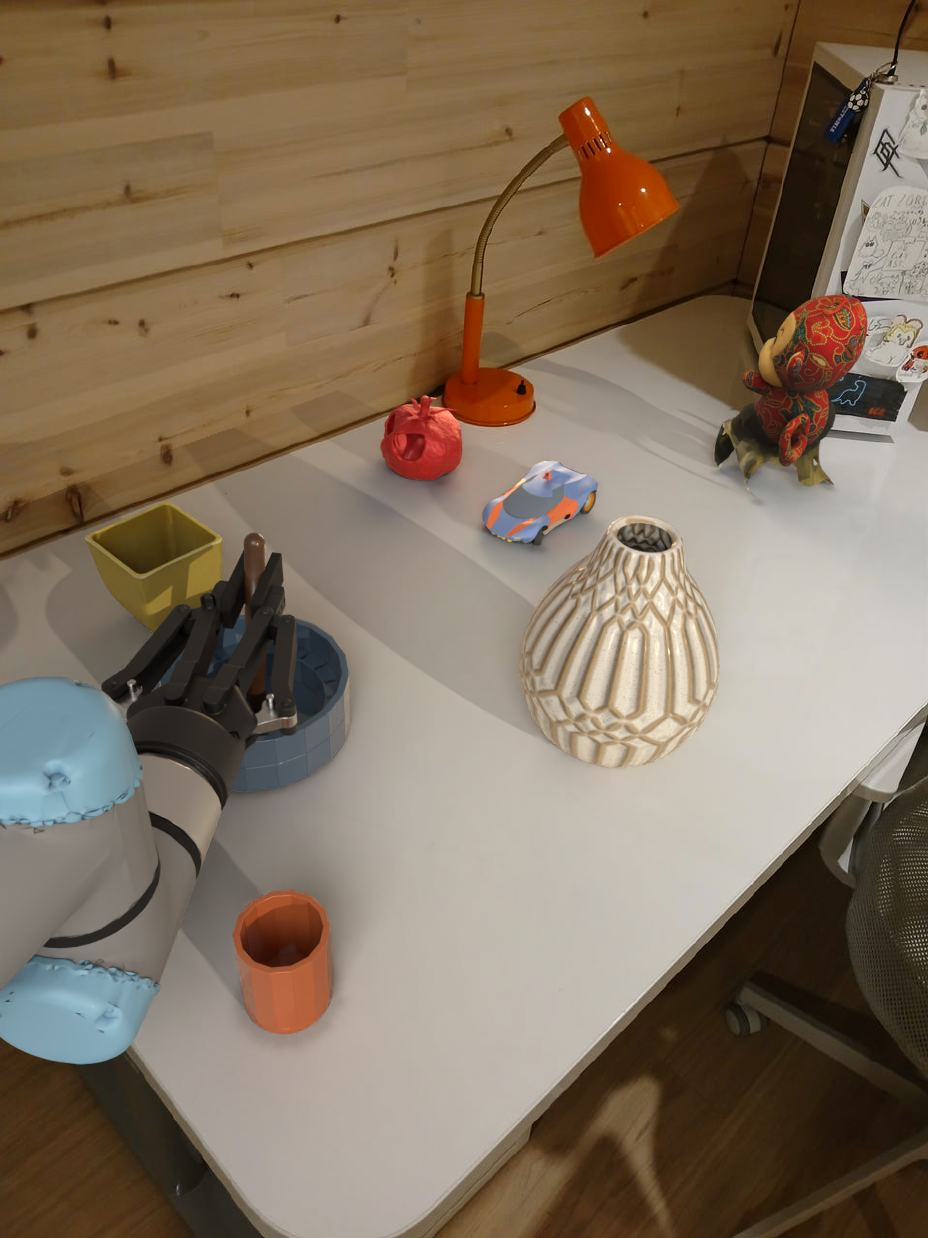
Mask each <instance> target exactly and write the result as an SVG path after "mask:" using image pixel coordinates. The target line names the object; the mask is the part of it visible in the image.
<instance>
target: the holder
mask: <svg viewBox="0 0 928 1238" xmlns="http://www.w3.org/2000/svg"><path fill="white" fill-rule="evenodd" d="M232 940H233V945H234V951H235V957H236V964H237V969H238V970H237V971H238V975H239V982H240V988H241V994H242V998H243V1003H244V1007H245V1010H246V1014H247V1015H248V1017H249V1018H250V1019H251V1020H252V1022H253V1023H254V1024H255V1025H257V1026H258V1027H259V1028H261V1029H262V1030H264V1031H267V1032H270V1033H273V1034H279V1035H286V1034H287V1035H288V1034H294V1033H298V1032H301V1031H304V1030H306V1029H308V1028H309V1027H311V1026H312V1025H314V1024H315V1023H316V1022H317V1021H319V1019H321V1018H322V1016H323V1015H324V1014H325V1013H326V1011H327V1009H328V1008H329V1005H330V1003H331V1000H332V995H333V986H334V977H333V975H334V974H333V959H332V941H331V925H330V921H329V918H328V916H327V911H326V909H325V907H323V906H322V905H321V904H320V903H319V902H318V901H317V900H316V899H315V897H313V896H312V895H309V894H306V893H303V892H300V891H297V890H294V889H288V890H287V889H285V890H275V891H274V890H273V891H270V892H268V893H266V894H263V895H262V896H259V897H258V898H256V899H253V900H252V901H251V902H250V903H249V904H248V905H247V906H245V908H244V909H243V910H242V911H241V912H240V913H239V914H238V916H237V919H236V923H235V925H234V929H233V932H232Z"/></svg>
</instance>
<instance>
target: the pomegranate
mask: <svg viewBox="0 0 928 1238" xmlns="http://www.w3.org/2000/svg"><path fill="white" fill-rule="evenodd" d="M436 399H437V397H431V396H430V397H429V396H427V395H425V394H424V395H422V396H421V397H420V399H419V401H420V402H419V403H420V404H419V403H418V402H417V400H416V399H415V398H406V400H407V401H411V403H412V404H403V405H400V406H394V407H393V411H391V413H390V414H389V415H388V417H387V419H386V420H385V422H384V433H383V439H382V440H381V441H380V445H379V448H380V451H381V455H382V457H383V459H384V462H385V463H386V465H387V466H388V467H389V468H390V469H391V470H392V471H394V472H395V473H397V474H398V475H400V476H401V477H404V478H406V479H409V480H418V481H435V480H437V479H438V478H440V477H441V476H442V475H446V474H449V473H451V472H453V471H454V470H456V468H458V466H459V465H460V464H461V460H462V457H463V436H462V429H461V426H460V425H461V424H460V423H459V422H458V420H457V419H456V418H455V417H454V416H453V413H451V412H456V411H459V408H457V409H453V408H449V407H448V408H444V407H441V406H440V407H439V406H431V405H432V403H433V400H436Z"/></svg>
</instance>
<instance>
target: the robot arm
mask: <svg viewBox="0 0 928 1238" xmlns="http://www.w3.org/2000/svg"><path fill="white" fill-rule="evenodd" d="M282 554H283V553H282V552H275V551H272V552H271V553H270V556H269V558H268V560H267V563H266V568H265V570H264V571H263V574H262V576H261V578H260V580H259V583H258V585H257V587H256V589H255V592H254V594H253V596H252V598H251V601H250V611H251V622H250V624H249V626H248V627H247V629H246V631H245V633H244V634H243V636H242V638H241V640H240V642H239V643H238V645H237V647H236V649H235V651H234V652H233V654H232V656H231V658H230V659H229V661H228V663H227V664H223V665H222V667H221V668H220V670H219V672H218V674H217V676H216V677H215V678H206V675H207V672H208V669H209V666H210V663H211V660H212V658H213V655H214V652H215V649H216V646H217V643H218V640H219V637H220V634H221V625H222V623H223V628H227V629H233V628H234V626H235V624H236V622H237V619H238V617H239V615H241V613H242V610H243V608H244V607H245V587H244V549H243V550H242V552H241V554H240V556H239V558H238V561H237V563H236V564H235V567H234V569H233V571H232V573H231V575H230V577H229V579H228V580H222V579H221V580H220V581H219V582H217V583H216V584H215V586H214V588H213V590H212V592H211V593H205V594H203V595H201V597H200V602H201V607H199V608H193V609H191V607H190V606H189V605H187V604H181V605H178V606H176V607H175V608H174V609H173V610H172V611H171V613H170V614H169V615H168V616H167V618H166V619H165V620H164V621H163V622H162V624H161V625H160V626H159V627H158V628H157V630H156V631H155V632H152V634H151V635H150V637H149V638H148V640H146V642H145V643H144V644H143V645H142V646H141V647H140V649H139V650H138V651H137V652H136V653H135V655H134V656H133V657H132V659H130V661H129V662H128V663H127V665H125V667H123V668H122V669H121V670H119V671H118V672H116V673H115V674H114V675H112V676H110V677H109V678H107V679H106V680H104V681H102V683H101V685H100V688H101V689H99V688H98V687H96V686H95V685H93V684H90V683H84V682H82V681H81V680H78V679H74V678H71V677H64V676H36V677H35V676H34V677H28V678H22V679H18V680H14V681H9V682H8V683H3V684H1V685H0V1038H1V1039H2V1040H4V1041H5V1042H6V1043H8V1044H9V1045H11V1046H13V1047H14V1048H16V1049H18V1050H20V1051H23V1052H25V1053H27V1054H29V1055H32V1056H34V1057H37V1058H41V1059H44V1060H47V1061H52V1062H56V1063H57V1062H58V1063H64V1064H65V1063H66V1064H75V1065H88V1064H90V1065H91V1064H98V1063H102V1062H106V1061H109V1060H111V1059H114V1058H117V1057H118V1056H119V1055H121V1054H122V1053H124V1052H126V1050H127V1049H129V1047H131V1045H132V1044H133V1043H134V1041H135V1039H136V1037H137V1035H138V1033H139V1031H140V1029H141V1026H142V1025H143V1022H144V1021H145V1018H146V1016H147V1013H148V1011H149V1009H150V1007H151V1005H152V1003H153V1000H154V998H155V996H157V995H158V993H160V990H161V988H162V985H161V984H160V982H161V980H162V976H163V973H164V971H165V968H166V966H167V963H168V960H169V957H170V954H171V952H172V949H173V947H174V944H175V940H176V938H177V935H178V933H179V930H180V927H181V924H182V921H183V919H184V917H185V913H186V910H187V908H188V905H189V903H190V900H191V897H192V895H193V892H194V888H195V886H196V883H197V880H198V877H199V875H200V872H201V870H202V868H203V864H204V862H205V859H206V856H207V854H208V852H209V848H210V846H211V843H212V841H213V838H214V835H215V833H216V830H217V827H218V824H219V822H220V819H221V816H222V811H223V810H224V808H225V806H226V805H227V803H228V800H229V796H230V793H231V792H232V791H231V789H232V786H233V783H234V781H235V778H236V775H237V773H238V770H239V767H240V764H241V761H242V758H243V755H244V753H245V752H246V751H247V750H248V749H249V748H250V747H251V746H252V745H254V744H255V742H256V741H257V739H258V736H259V734H261V733H265V732H269V731H273V730H276V729H279V731H280V733H281V734H283V735H285V736H291V735H294V734H295V733H296V732H297V730H298V726H297V711H296V701H295V699H294V696H293V694H292V693H293V683H294V674H295V664H296V655H297V631H296V619H295V618H296V617H295V615H292V614H284V611H285V609H286V605H287V601H286V591H285V587H284V586H283V584H284V581H285V579H284V568H283V555H282ZM282 615H283V616H282ZM272 644H274V646H275V652H274V659H273V667H272V674H271V694H268V695H267V696H266V700H265V701H264V702H263V703H262V709H261V711H260V712H258V713H256V714H255V713H254V712H253V710H252V708H251V706H250V705H249V703H248V701H247V700H246V694H247V692H248V690H249V688H250V686H251V684H252V682H253V680H254V678H255V676H256V674H257V673H258V671H259V669H260V667H261V665H262V663H263V661H264V659H265V657H266V655H267V653H268V651H269V649H270V647H271V646H272ZM184 649H185V650H184ZM183 650H184V652H183V655H182V658H181V660H178V661H177V663H176V665H175V668H174V671H173V673H172V676H171V679H170V681H169V682H168V683H166V684H164V685H163V686H161V687H159V688H157V689H156V690H154V691H152V690H153V689H154V688H155V686H156V685H157V684H158V683H159V681H160V680H161V679H162V677H163V676H164V675H165V673H166V672H167V671H168V670H169V668H170V667H171V666H172V664H173V663H174V662H175V660H176V659H177V658H178V657H179V655H180V654H181V653H182V651H183ZM125 718H126V721H125Z"/></svg>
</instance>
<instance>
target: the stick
mask: <svg viewBox="0 0 928 1238" xmlns="http://www.w3.org/2000/svg"><path fill="white" fill-rule="evenodd" d="M243 550H244V587H245V604H244V615H245V631H246V629H247V627H248V626H249V624H250V622H251V611H250V601H251V598H252V596H253V594H254V592H255V589H256V587H257V585H258V583H259V580H260V578H261V576H262V574H263V571H264V570H265V568H266V565H267V563H266V559H267V558H266V539H265V538H264V535H262V534H261V533H259V532H249V533H248V534H246V535H245V537H244V539H243ZM266 696H267V694H266V657H265V659H264V661H263V663H262V665H261V667H260V669H259V671H258V673H257V674H256V676H255V678H254V680H253V682H252V684H251V686H250V688H249V690H248V692H247V694H246V700H247V701H248V703H249V705H250V706H251V708H252V710H253V712H254V713H255V714H256V713H258V712H260V711H261V709H262V703H263V702H264V701H265V700H266Z"/></svg>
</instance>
